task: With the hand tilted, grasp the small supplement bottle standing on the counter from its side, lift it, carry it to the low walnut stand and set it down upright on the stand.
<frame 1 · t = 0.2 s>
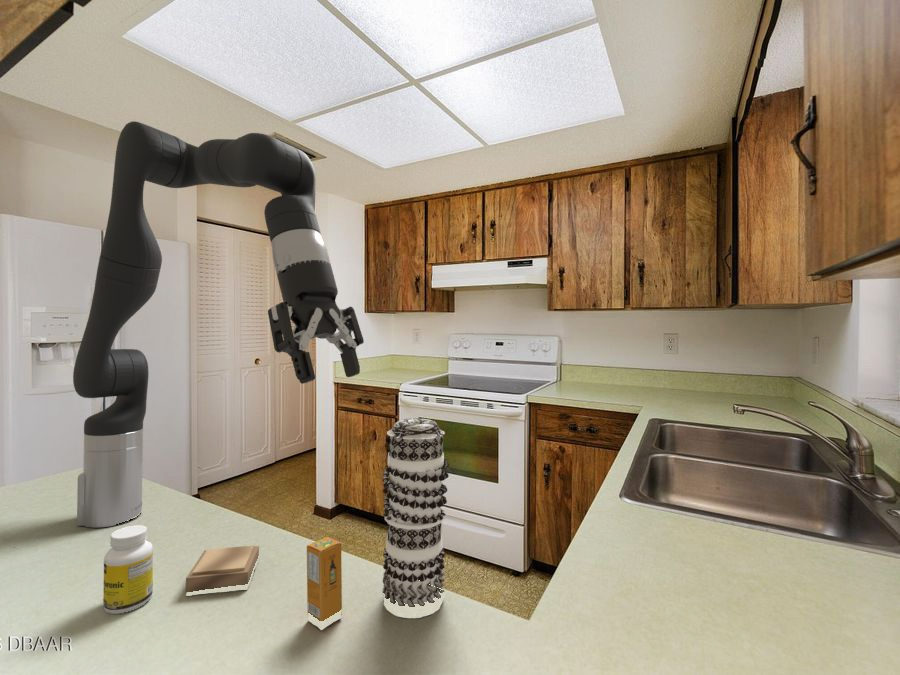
hand: (332, 378, 60), 31 cm above the counter, tool tilted 20°, fingers open, 8 cm apart
decorative candle: (413, 601, 61), on the counter
supplement bottle: (128, 604, 59), on the counter
supplement box: (323, 621, 56), on the counter
stand: (224, 578, 66), on the counter
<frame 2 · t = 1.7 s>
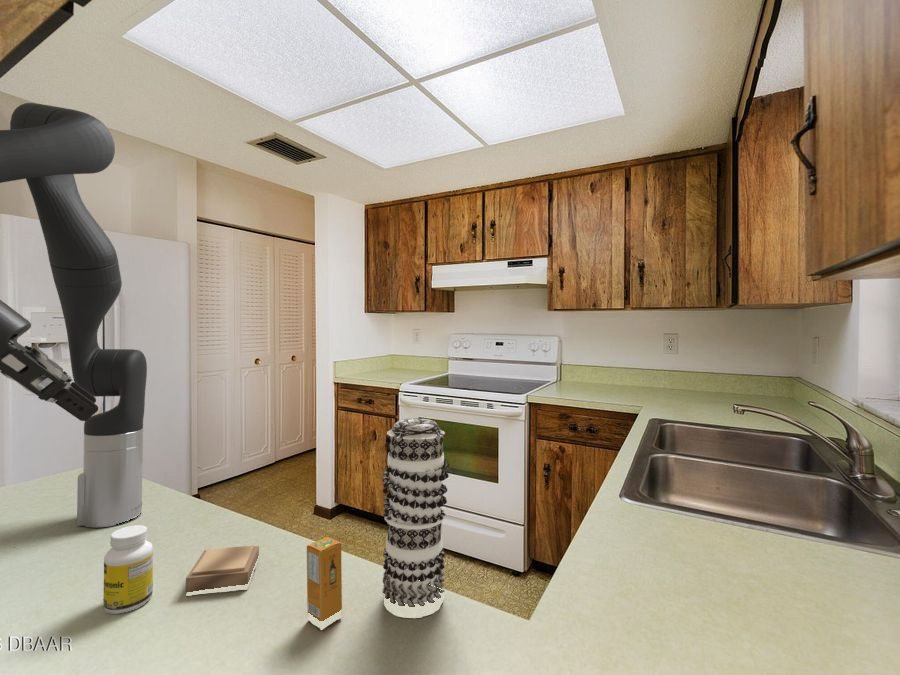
hand: (91, 410, 56), 27 cm above the counter, tool tilted 45°, fingers open, 8 cm apart
nothing on the counter moved.
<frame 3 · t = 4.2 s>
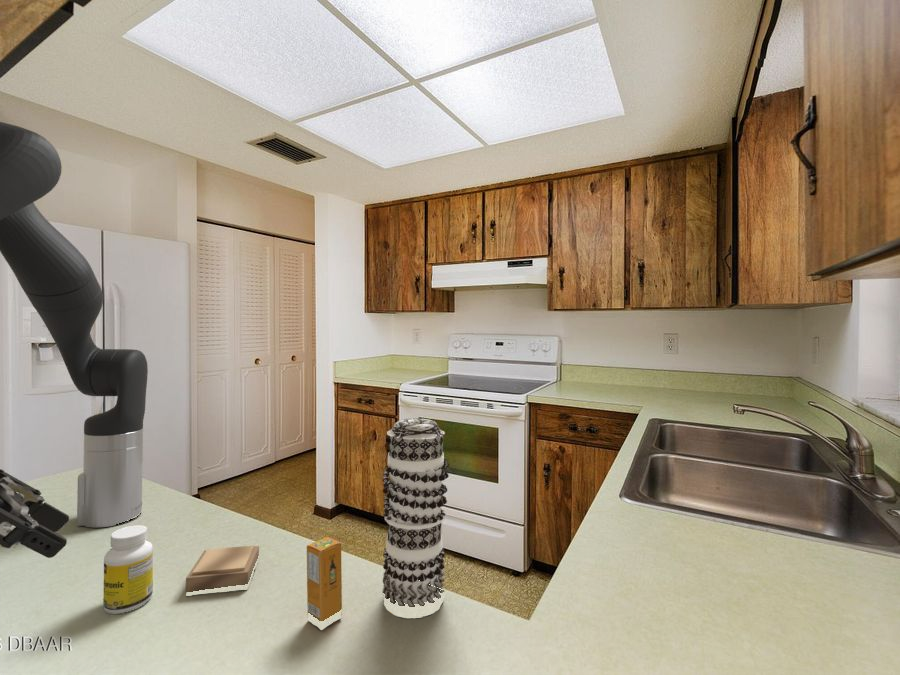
hand: (61, 536, 55), 11 cm above the counter, tool tilted 45°, fingers open, 8 cm apart
nothing on the counter moved.
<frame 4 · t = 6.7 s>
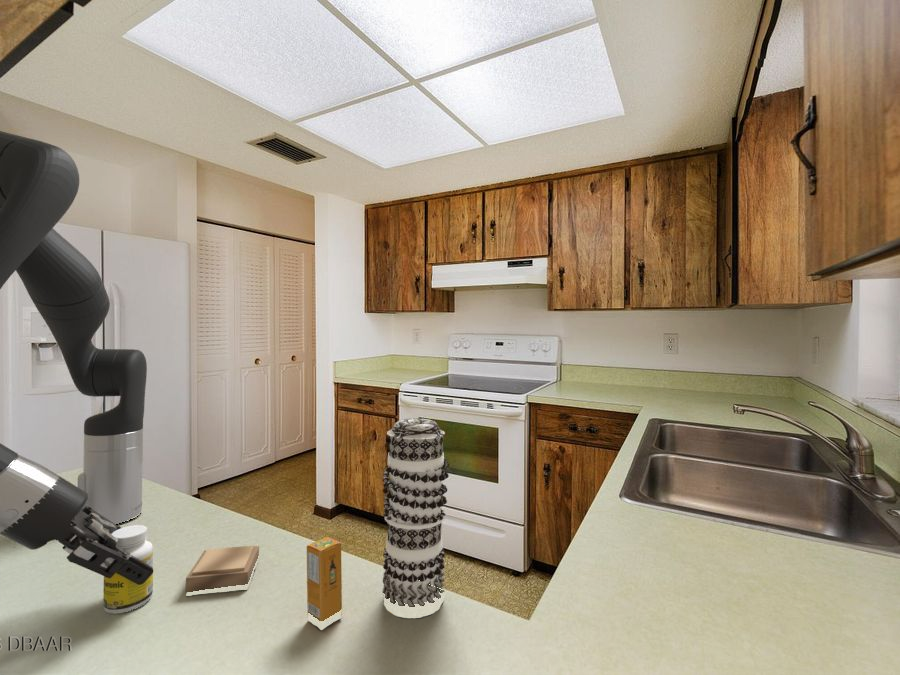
hand: (145, 567, 60), 4 cm above the counter, tool tilted 45°, fingers closed on supplement bottle, 5 cm apart
supplement bottle: (128, 604, 59), on the counter, touching gripper
everything else where it was.
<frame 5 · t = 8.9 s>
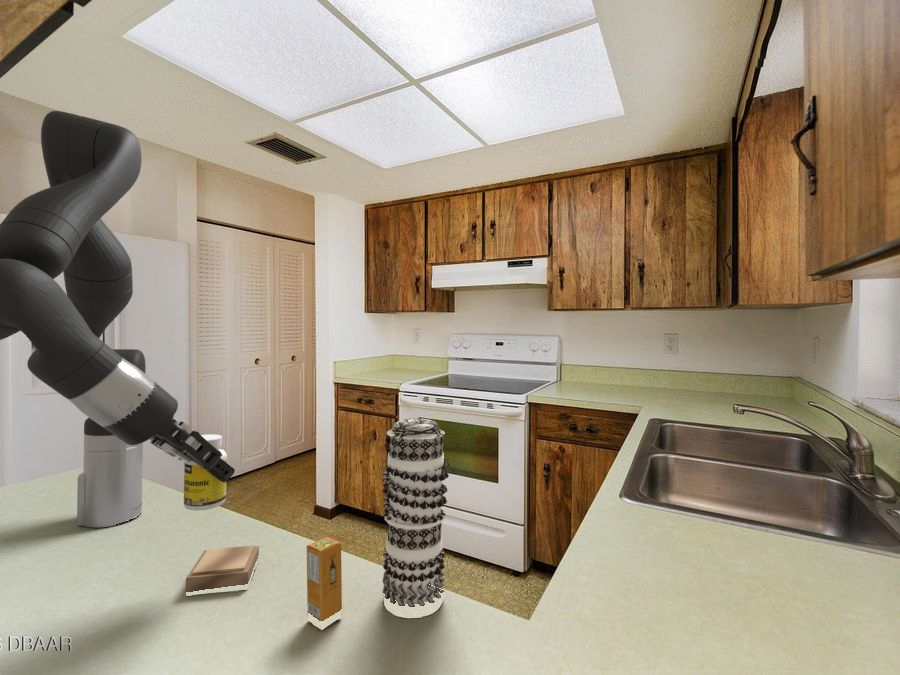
hand: (218, 472, 65), 16 cm above the counter, tool tilted 45°, fingers closed on supplement bottle, 5 cm apart
supplement bottle: (205, 505, 64), point 12 cm above the counter, touching gripper
everything else where it was.
when the fingers open (9 cm above the counter, at t = 11.0 s): supplement bottle drops 1 cm, resting on stand.
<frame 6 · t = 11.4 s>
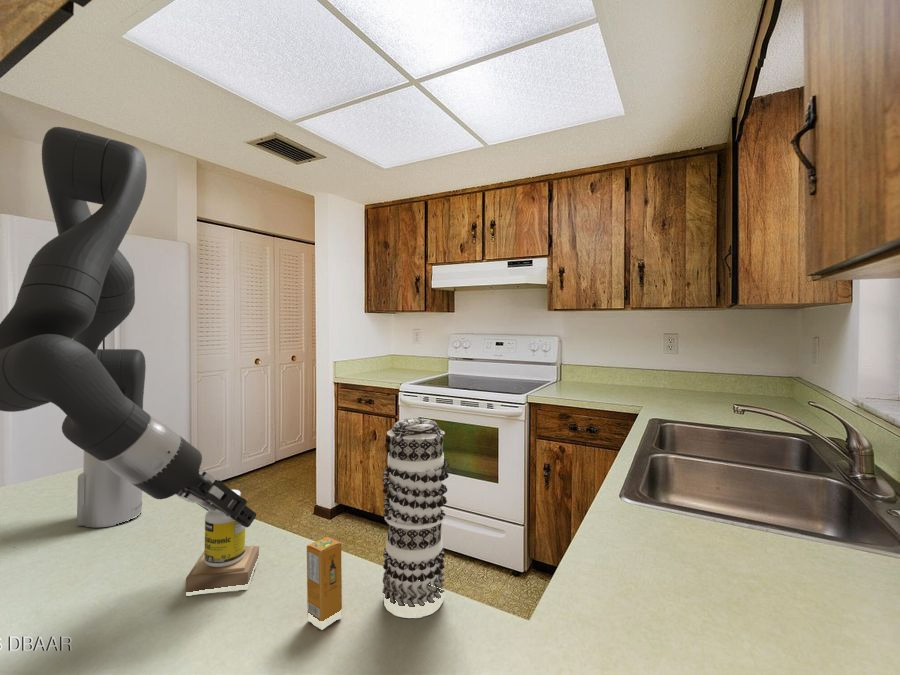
hand: (234, 514, 67), 9 cm above the counter, tool tilted 45°, fingers open, 8 cm apart
supplement bottle: (225, 560, 65), point 3 cm above the counter, touching stand
everything else where it was.
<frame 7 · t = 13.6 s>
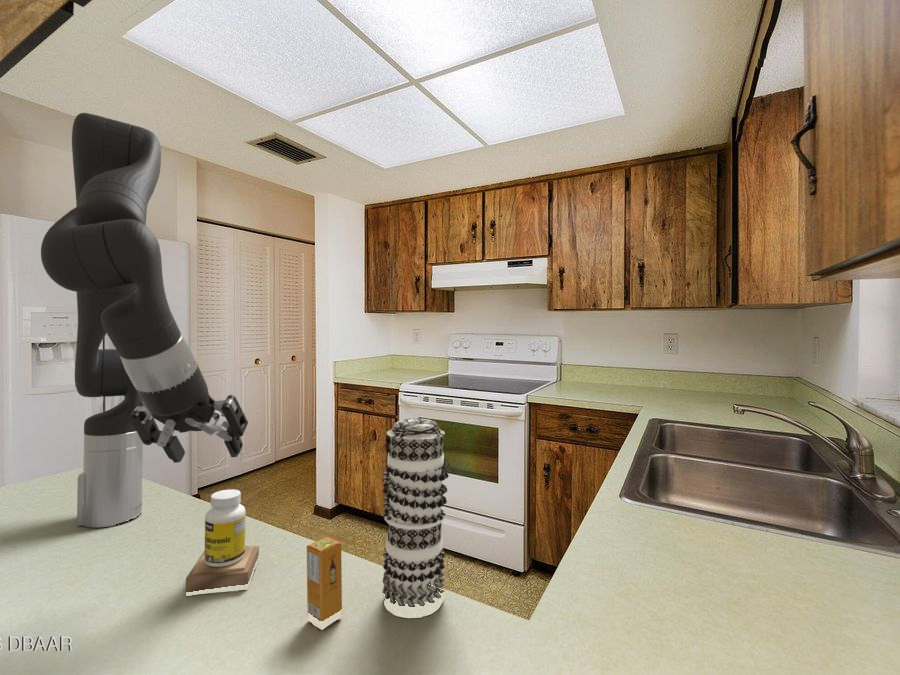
hand: (208, 455, 67), 18 cm above the counter, tool tilted 35°, fingers open, 8 cm apart
nothing on the counter moved.
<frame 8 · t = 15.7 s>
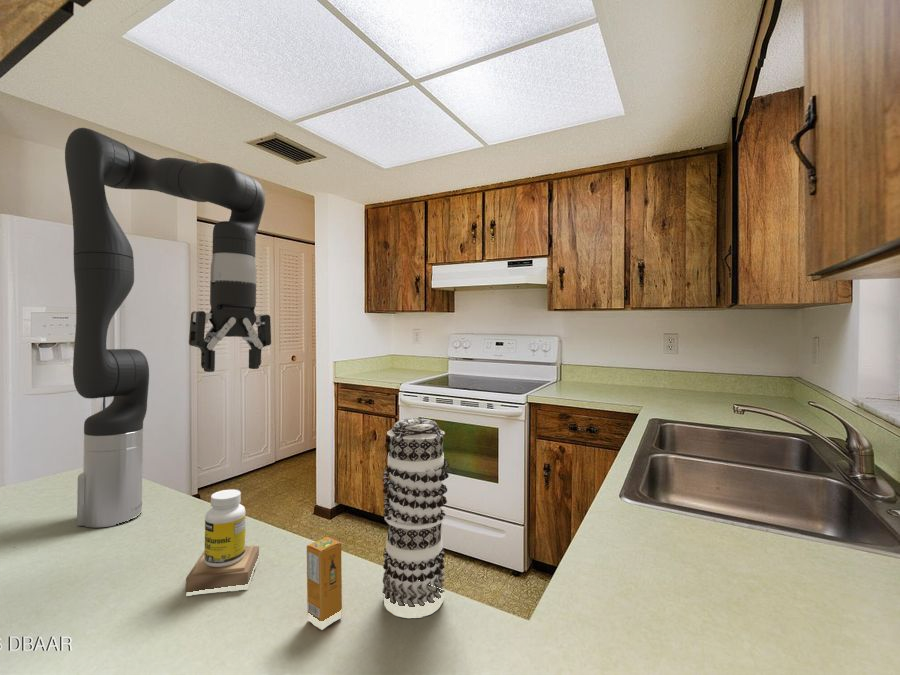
hand: (232, 370, 79), 30 cm above the counter, tool pointing down, fingers open, 8 cm apart
nothing on the counter moved.
at the end: supplement bottle inside the target area on the stand (0.3 cm from its centre), point 2.8 cm above the stand's base; supplement bottle tilted 0°; the gripper is holding nothing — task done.
